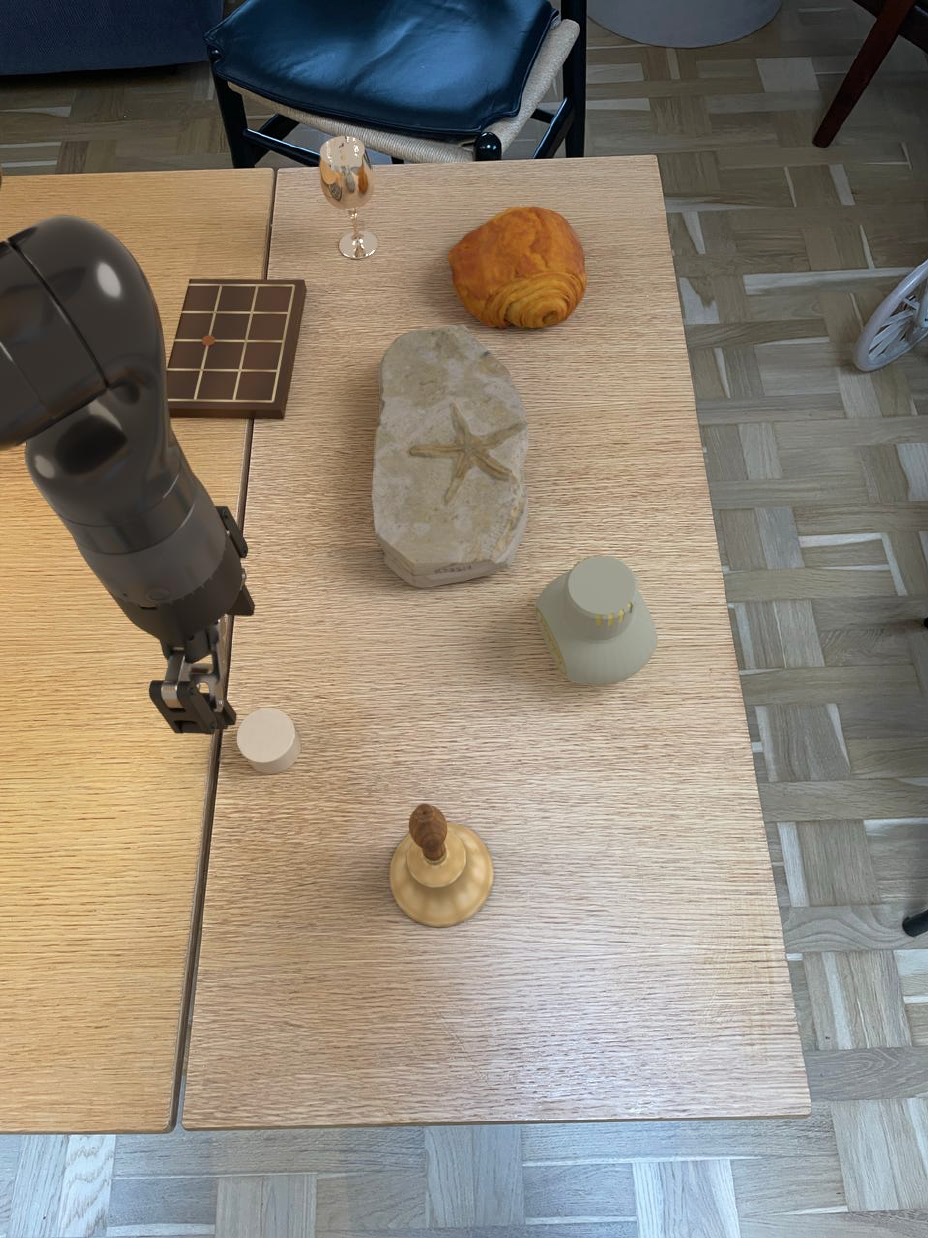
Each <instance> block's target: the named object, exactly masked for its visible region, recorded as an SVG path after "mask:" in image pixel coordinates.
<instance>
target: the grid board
mask: <svg viewBox="0 0 928 1238" xmlns="http://www.w3.org/2000/svg"><path fill="white" fill-rule="evenodd" d="M307 291H308V288H307V286H306V281H305V279H287V278H286V279H285V278H284V279H278V278H277V279H275V278H273V279H271V278H270V279H268V278H267V279H266V278H262V279H261V278H189V279H188V283H187V288H186V292H185V295H184V299H183V304H182V306H181V311H180V315H179V319H178V323H177V327H176V330H175V335H174V339H173V343H172V347H171V351H170V354H169V359H168V362H167V365H166V369H167V394H168V404H169V412H170V419H172V418H173V419H174V418H175V419H176V418H177V419H179V418H181V419H231V420H232V419H233V420H234V419H235V420H236V419H237V420H238V419H239V420H285V418H286V417H285V415H286V411H287V405H288V399H289V393H290V387H291V383H292V375H293V370H294V365H295V359H296V355H297V348H298V343H299V337H300V330H301V326H302V319H303V314H304V308H305V302H306V296H307Z"/></svg>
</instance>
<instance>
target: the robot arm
mask: <svg viewBox="0 0 928 1238" xmlns="http://www.w3.org/2000/svg"><path fill="white" fill-rule="evenodd" d="M2 185H3V169H2V164H1V163H0V191H1V189H2V187H3V186H2ZM165 342H166V341H165V336H164V330H163V324H162V319H161V314H160V310H159V306H158V304H157V301H156V298H155V295H154V291H153V290H152V287H151V284H150V282H149V279H148V278H147V275H146V274H145V272H144V270H143V269H142V266H141V265H140V264H139V262H138V261H137V259H136V258H135V256H134V254H132V253H131V251H130V250H129V249H128V247H126V246H125V244H124V243H122V242H121V240H120V239H119V238H117V236H115V235H114V234H113V233H111V232H110V231H109V230H107V229H106V228H104V227H103V226H100V225H99V224H97V223H95V222H93V221H91V220H88V219H86V218H84V217H80V216H74V215H70V214H64V215H63V214H61V215H53V216H49V217H46V218H43V219H40V220H38V221H35V222H34V223H32V224H30V225H28V226H26V227H24V228H22V229H20V230H18V231H17V232H15V233H13V234H11V235H9V236H8V237H6V238H5V240H0V453H1V452H7V451H11V450H12V449H14V448H17V447H19V446H22V445H23V444H25V448H24V460H25V462H24V463H25V466H26V469H27V472H28V474H29V476H30V478H31V480H32V482H33V484H34V486H35V487H36V489H37V491H38V492H39V493H40V494H41V495H42V497H43V499H44V500H45V502H46V503H47V504H48V505H49V506H50V508H51V509H52V511H53V512H54V513H55V515H56V516H57V518H58V519H59V521H60V522H61V523H62V524H63V525H64V527H65V528H66V530H67V531H68V533H69V534H70V536H72V539H73V541H74V543H75V546H76V547H77V550H78V551H79V554H80V555H81V557H82V558H83V560H84V561H85V563H86V565H87V566H88V567H89V568H90V570H91V572H92V573H93V574H94V575H95V576H96V578H97V579H98V580H99V582H100V583H101V584H102V586H103V587H104V589H105V590H106V591H107V592H108V594H109V595H110V596H111V598H112V599H113V601H114V602H115V603H116V605H117V606H118V607H119V609H120V610H121V611H122V612H123V613H124V615H125V616H126V618H127V619H128V620H129V621H130V622H131V623H132V624H133V625H134V626H135V627H138V629H140V630H141V631H143V632H145V633H147V634H149V636H152V637H154V639H155V638H156V639H157V640H158V641H159V643H160V647H161V650H162V656H163V658H165V660H166V664H167V666H166V667H167V668H166V671H165V675H164V678H163V679H161V680H160V679H152V680H151V681H150V683H149V686H148V696H149V699H150V700H151V702H152V703H153V705H154V706H155V707H156V709H157V710H158V712H159V713H160V714H161V717H162V718H163V719H164V720H165V721H166V723H167V724H168V726H169V727H170V729H171V730H172V732H173V733H174V734H177V735H184V734H194V735H195V734H197V735H200V734H201V735H205V736H206V735H208V736H214V735H215V733H216V730H229V727H230V726H231V727H232V726H235V725H236V723H237V716H238V714H237V712H236V711H235V709H234V707H233V706H232V705H231V703H230V702H229V700H228V699H227V697H226V696H225V695H224V693H223V692H224V691H223V685H222V683H223V682H222V680H223V679H224V677H225V675H226V674H227V671H228V664H227V656H226V654H227V653H226V647H225V636H226V633H227V623H226V615H227V616H229V617H230V616H232V617H236V616H237V617H252V616H254V615H255V610H256V603H255V602H254V600H253V598H252V595H251V594H250V591H249V589H248V587H247V585H246V580H247V576H248V575H247V571H246V569H245V568H244V567H243V566H242V562H241V559H247V557H248V554H249V547H248V543H247V540H246V539H245V537H244V535H243V533H242V531H241V529H240V527H239V526H238V523H237V522H236V520H235V518H234V516H233V514H232V512H231V510H230V508H229V506H228V505H215V504H214V502H213V500H212V497H211V495H210V493H209V492H208V491H207V489H206V487H205V486H204V484H203V483H202V482H201V480H200V478H198V476H197V475H196V474H195V473H194V471H193V469H192V467H191V465H190V463H189V461H188V459H187V457H186V455H185V453H184V451H183V449H182V446H181V445H180V442H179V441H178V439H177V436H176V434H175V432H174V430H173V428H172V419H171V418H170V412H169V404H168V394H167V354H166V343H165ZM208 656H211V657H210V658H211V663H197V662H199V661H202V660H203V659H205V658H207V657H208ZM201 684H205V685H207V687H208V692H201V691H200V690H201V687H202V686H201Z"/></svg>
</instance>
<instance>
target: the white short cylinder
mask: <svg viewBox="0 0 928 1238" xmlns="http://www.w3.org/2000/svg"><path fill="white" fill-rule="evenodd" d="M236 744H237V745H236V746H237V748H238V750H239V751H240V753H241V754H242V757H244V759H245V760H246V761H247V763H248V765H249V766H250V767H251V768H252V769H254V770H255V771H257V772H258V773H261V774H265V775H274V774H279V773H283V772H284V771H285V770H287V769H289V768H290V767H291V766H293V765H294V764H295V763H296V761H297V759H298V757H299V756H300V753H301V749H302V739H301V736H300V733H299V731H298V730H297V728H296V726H295V724H294V722H293V721H292V719H291V717H290V716H289V715H288V714H287V713H286V712H284V711H283V710H280V709H278V708H274V707H263V708H259V709H256V710H254V711H251V713H249V714H248V715H246V717H244V718H243V720H242V722H241V723H240V724H239V726H238V728H237V731H236Z"/></svg>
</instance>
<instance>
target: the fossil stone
mask: <svg viewBox="0 0 928 1238" xmlns="http://www.w3.org/2000/svg"><path fill="white" fill-rule="evenodd" d="M377 368H378V369H377V380H378V381H377V382H378V392H379V393H378V395H379V396H378V399H379V404H378V405H379V409H378V416H377V421H376V425H377V428H376V432H375V436H374V440H373V467H372V468H373V471H372V472H373V473H372V482H371V492H370V494H371V503H372V504H371V505H372V515H373V525H374V526H373V527H374V535H375V541H376V542H377V545H378V547H379V549H380V550H381V551H382V554H383V562H384V564H385V565H386V567H388V568H389V569H390V570H391V571H392V572H394V574H396V576H398V577H400V579H402V580H403V581H405V582H406V583H408V584H409V585H411V586H414V587H417V588H420V589H421V588H432V587H433V588H434V587H438V586H443V585H448V584H457V583H462V582H466V581H470V580H473V579H478V578H482V577H486V576H490V575H495V574H497V573H499V572H502V571H504V570H506V569H509V568H510V567H511V565H512V564H513V562H514V560H515V557H516V554H517V552H518V550H519V548H520V546H521V543H522V540H523V537H524V535H525V532H526V528H527V526H528V517H529V513H530V501H529V497H528V492H527V487H526V485H525V478H524V477H525V472H524V471H525V462H526V459H527V453H528V451H529V448H530V447H529V443H530V441H529V440H530V439H529V435H530V434H529V423H528V421H527V414H526V412H527V411H526V410H527V409H526V407H525V405H524V403H523V400H522V397H521V394H520V392H519V390H518V388H517V386H516V384H515V383H514V381H513V377H512V375H511V372H510V369H509V368H508V367H507V365H506V364H505V363H504V362H503V361H501V360H500V359H499V358H498V357H497V356H496V355H494V353H493V352H491V351H490V350H489V349H488V348H487V347H486V346H485V345H484V343H481V341H479V340H477V339H476V338H475V336H474V335H473V334H472V332H470V330H469V329H468V328H467V327H466V326H465V325H464V324H463V323H460V324H457V325H448V326H441V327H437V328H428V329H427V328H426V329H415V330H411V331H408V332H405V333H403V334H402V335H399V336H398V337H397V338H395V339H394V340H393V341H392V342H391V343H390V345H389V346H388V347H387V348H386V350H385V352H384V353H383V355H382V357H381V359H380V361H379V363H378V367H377Z"/></svg>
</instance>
